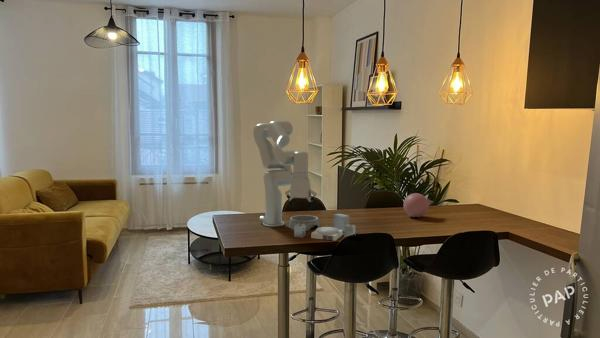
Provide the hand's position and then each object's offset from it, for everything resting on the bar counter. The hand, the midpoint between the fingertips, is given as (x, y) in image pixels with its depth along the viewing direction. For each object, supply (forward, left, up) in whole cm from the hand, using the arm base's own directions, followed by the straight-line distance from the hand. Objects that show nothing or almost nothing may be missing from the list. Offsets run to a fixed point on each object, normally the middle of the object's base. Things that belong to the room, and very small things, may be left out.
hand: (300, 208), depth 218 cm
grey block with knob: (-1, 0, -15) cm, 15 cm away
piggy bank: (+50, +75, -15) cm, 92 cm away
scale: (+12, +6, -15) cm, 20 cm away
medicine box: (+15, +21, -15) cm, 30 cm away
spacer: (+23, +10, -15) cm, 30 cm away
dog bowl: (-7, +22, -15) cm, 27 cm away
